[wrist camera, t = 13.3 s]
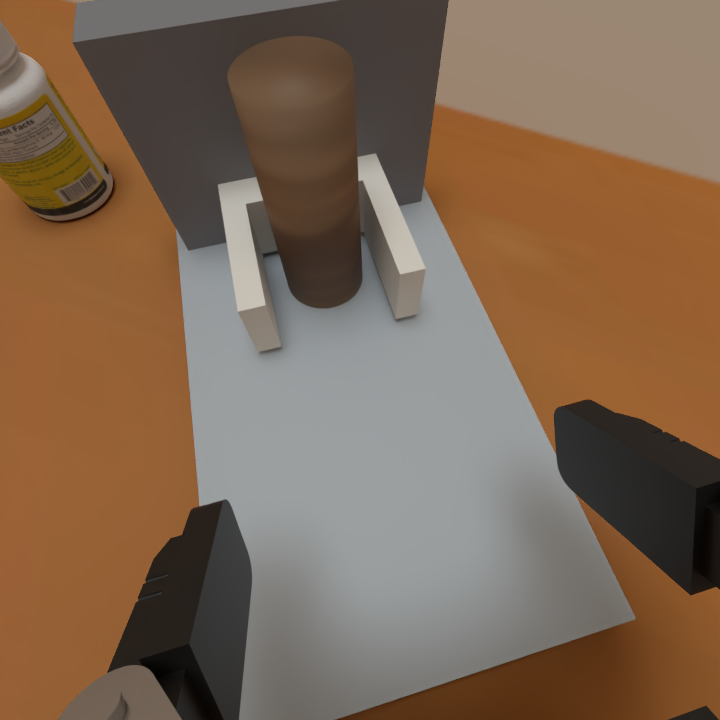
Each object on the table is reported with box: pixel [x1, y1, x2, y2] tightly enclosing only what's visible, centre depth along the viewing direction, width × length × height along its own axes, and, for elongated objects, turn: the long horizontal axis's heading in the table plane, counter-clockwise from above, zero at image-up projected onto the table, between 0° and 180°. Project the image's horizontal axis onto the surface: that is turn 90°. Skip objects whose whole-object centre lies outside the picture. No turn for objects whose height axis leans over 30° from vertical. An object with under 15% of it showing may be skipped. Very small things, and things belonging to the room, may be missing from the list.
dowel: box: [228, 36, 363, 308], centre depth 16 cm, size 4×4×9 cm
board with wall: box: [73, 0, 636, 720], centre depth 14 cm, size 22×13×10 cm, turn 15°
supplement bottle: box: [0, 20, 113, 221], centre depth 21 cm, size 5×5×8 cm
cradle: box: [218, 153, 426, 352], centre depth 18 cm, size 7×7×3 cm
